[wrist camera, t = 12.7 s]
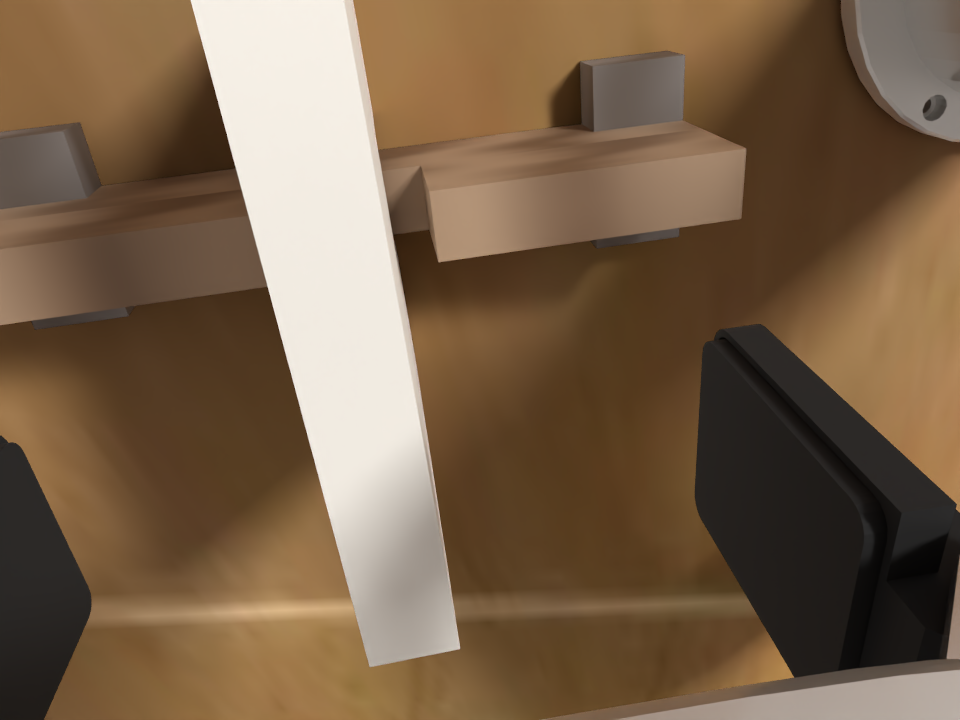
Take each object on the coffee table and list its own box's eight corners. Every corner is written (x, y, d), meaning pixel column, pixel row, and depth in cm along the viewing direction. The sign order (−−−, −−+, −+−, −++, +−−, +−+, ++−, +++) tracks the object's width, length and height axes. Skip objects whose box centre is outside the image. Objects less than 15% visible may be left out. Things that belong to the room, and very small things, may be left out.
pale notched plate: (343, -55, 22) (327, -94, 10) (415, 358, 29) (460, 649, 16) (275, -47, 22) (170, -75, 9) (364, 367, 28) (369, 667, 16)
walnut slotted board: (667, 50, 25) (752, 71, 19) (663, 224, 27) (736, 283, 22) (-21, 134, 23) (-134, 182, 17) (51, 311, 26) (-28, 398, 20)
